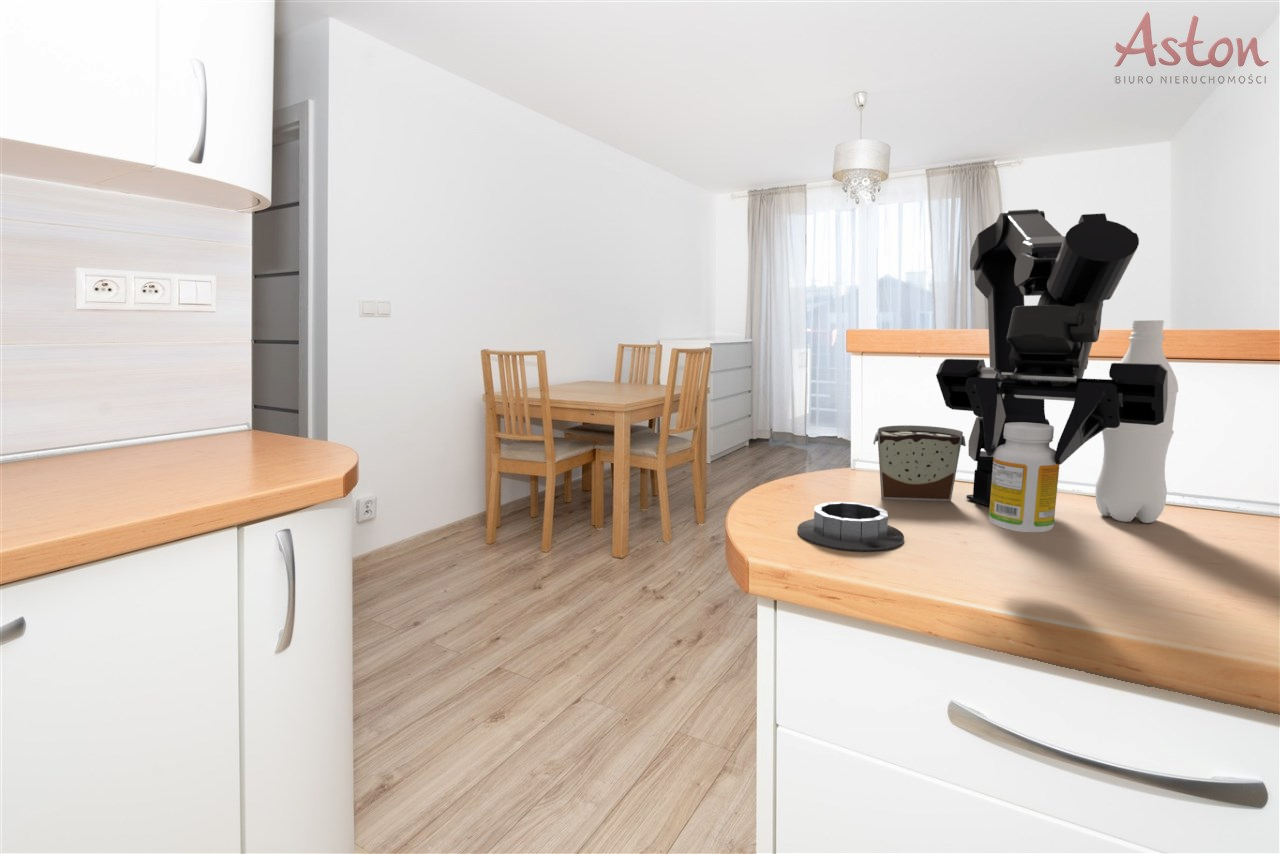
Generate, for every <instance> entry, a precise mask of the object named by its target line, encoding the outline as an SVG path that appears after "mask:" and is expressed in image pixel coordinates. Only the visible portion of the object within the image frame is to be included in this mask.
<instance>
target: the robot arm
mask: <svg viewBox="0 0 1280 854" xmlns="http://www.w3.org/2000/svg"><path fill="white" fill-rule="evenodd" d="M1139 244H1140V239H1139V236H1138V234H1137V232H1133V230H1131V228H1128V227H1127V226H1126V225H1123V224H1121V223H1119V222H1115V221H1112V220H1108V219H1107V215H1106V213H1103V212H1102V213H1086V214H1081V215H1080V217H1079V219H1078V221H1077V224H1074V225H1073V226H1071V228H1069V229H1068V231H1067V232H1066V234H1065V235H1062V234H1061V233H1060V232H1059V231H1058V230H1057V229H1056V228H1055V227H1054V226H1053V225H1052V224H1051V223H1050V222H1049V221H1048V220H1047V219H1046V214H1045V211H1044V210H1039V209H1037V208H1036V209H1035V208H1031V209H1014V210H1006V211H1005V212H1000V213H999V215H998V218H997V219H996V222H994V223H993V224H990V226H987V227H986V228H985V229H983V230H981V231H980V232H978V234H977V235H976V237H975V240H974V242H973V244H972V247H971V251H970V255H969V257H970V258H969V267H970V268H969V269H970V270H971V271H973V274H974V278H973V279H974V286H975V287H976V289H978V290H979V292H980V293H981V294H982V295H983V296H984V297H985V299H987V314H988V315H987V318H988V322H987V323H988V324H987V325H988V347H989V348H988V351H989V352H988V353H989V355H988V356H989V367H988V366H987V367H986V363H985V360H984V359H979V358H978V359H977V358H976V359H975V358H972V359H971V358H945V359H944V360H943V361H942V362H941V363H940V364H939V367H938V370H937V372H936V374H935V376H936V379H937V383H938V385H939V386H938V387H939V388H940V392H941V396H942V398H943V401H944V404H945V406H946V407H947V408H949V409H950V410H953V411H954V410H955V411H956V410H957V411H964V412H965V411H967V412H972V413H973V415H974V416H976V417H975V420H974V423H973V426H972V429H971V431H970V435H969V439H968V457H970V458H971V459H972V460H973V461H974V462H976V469H975V470H974V476H973V489H972V494H967V495H966V500H970V501H972V502H976V503H978V504H981V505H983V506H984V505H985V506H988V507H990V497H991V484H992V471H993V456H994V451H995V449H996V448H997V447H998V446H1000V445H1003V444H1005V443H1006V439H1004V435H1003V433H1004V425H1005V423H1011V422H1028V423H1041V424H1047V425H1050V421H1049V419H1048V418H1046V413H1045V411H1046V410H1045V400H1046V401H1047V400H1050V401H1065V402H1073V406H1072V407H1071V411H1070V414H1069V416H1068V418H1067V420H1066V423H1065V425H1064V427H1063V430H1062V431H1061V432H1062V433H1061V435H1060V437H1059V440H1058V442H1057V445H1056V449H1055V450H1056V453H1055V463H1056V464H1059V466H1060V465H1062V464H1063V463H1065V462H1066V461H1067V460H1068V459H1069V458H1070V457H1071V456H1072V455H1073V454H1074V453H1075V452H1077V451H1078V449H1080V448H1081V447H1082V446H1084V444H1085V443H1086V442H1088V441H1090V440H1091V439H1093V438H1094V437H1095V436H1096V435H1098V434H1100V433H1101V432H1102V431H1103V430H1104V429H1106V428H1117V427H1119V425H1120V422H1121V423H1132V424H1145V425H1158V424H1160V423H1163V422H1164V418H1165V413H1166V409H1167V400H1168V371H1167V370H1166V369H1165V368H1164V367H1163V366H1162V365H1161V364H1141V363H1120V362H1112V363H1111V364H1110V368H1109V371H1108V375H1109V377H1111V378H1112V380H1109V378H1108V379H1105V378H1103V379H1102V378H1083V377H1084V374H1085V370H1087V369H1088V365H1089V357H1090V352H1091V351H1092V350H1091V349H1092V345H1093V343H1096V342H1098V340H1099V337H1100V331H1101V325H1102V315H1103V314H1102V313H1103V308H1104V301H1106V300H1107V301H1109V300H1110V299H1111V298H1112V297H1113V295H1114V293H1115V291H1116V290H1117V288H1118V286H1119V284H1120V283H1121V279H1122V278H1123V276H1124V274H1125V272H1126V271H1127V268H1128V266H1129V265H1130V263H1131V262H1132V259H1133V257H1134V256H1135V253H1136V252H1137V250H1138V247H1139ZM1025 296H1026V297H1030V296H1031V297H1033V296H1035V297H1037V296H1039V299H1038V303H1037V304H1035V305H1025Z"/></svg>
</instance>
